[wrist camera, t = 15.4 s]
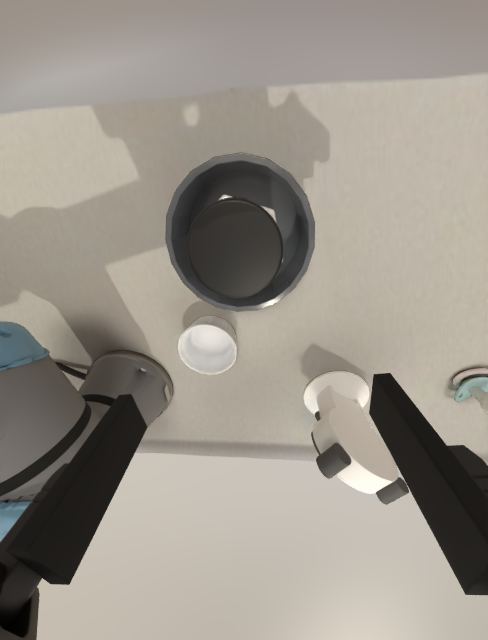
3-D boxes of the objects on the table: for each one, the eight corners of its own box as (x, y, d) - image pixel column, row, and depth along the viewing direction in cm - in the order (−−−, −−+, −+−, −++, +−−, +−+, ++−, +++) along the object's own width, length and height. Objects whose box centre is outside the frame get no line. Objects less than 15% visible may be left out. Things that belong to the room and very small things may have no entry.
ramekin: (177, 318, 37) (167, 331, 33) (230, 306, 35) (226, 319, 31) (196, 362, 40) (190, 379, 36) (245, 353, 39) (243, 369, 35)
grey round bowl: (199, 294, 34) (184, 316, 28) (173, 176, 28) (146, 167, 21) (302, 284, 33) (313, 305, 26) (302, 156, 26) (316, 140, 19)
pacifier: (450, 367, 38) (443, 395, 40) (483, 395, 32) (473, 426, 34) (500, 363, 37) (490, 392, 39) (544, 391, 31) (529, 423, 33)
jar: (246, 180, 27) (237, 165, 16) (291, 233, 29) (308, 250, 18) (197, 236, 30) (163, 254, 19) (241, 280, 32) (231, 318, 22)
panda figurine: (288, 400, 43) (300, 488, 30) (328, 358, 38) (363, 442, 25) (338, 425, 45) (371, 518, 32) (382, 389, 40) (442, 481, 27)
